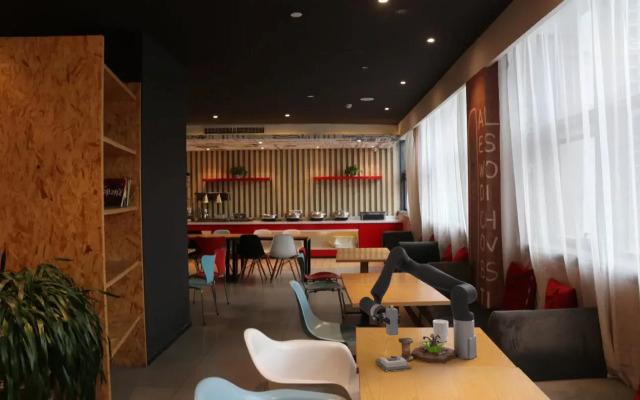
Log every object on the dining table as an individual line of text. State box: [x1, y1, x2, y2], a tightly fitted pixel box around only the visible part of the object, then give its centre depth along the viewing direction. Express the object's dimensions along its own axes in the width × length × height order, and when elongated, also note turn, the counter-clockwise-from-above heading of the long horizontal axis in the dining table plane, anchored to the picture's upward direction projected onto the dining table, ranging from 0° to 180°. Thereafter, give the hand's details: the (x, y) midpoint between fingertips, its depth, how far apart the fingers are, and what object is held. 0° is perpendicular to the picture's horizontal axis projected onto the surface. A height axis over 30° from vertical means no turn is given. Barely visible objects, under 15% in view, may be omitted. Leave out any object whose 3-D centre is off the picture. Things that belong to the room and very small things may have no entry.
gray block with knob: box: [385, 304, 399, 336], centre depth 211 cm, size 4×4×13 cm
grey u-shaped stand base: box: [375, 355, 412, 372], centre depth 210 cm, size 14×11×3 cm
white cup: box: [432, 319, 449, 343], centre depth 248 cm, size 8×8×10 cm
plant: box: [410, 333, 457, 364], centre depth 223 cm, size 20×20×11 cm
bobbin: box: [390, 337, 414, 362], centre depth 220 cm, size 10×6×9 cm, turn 43°
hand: (394, 321), depth 208 cm, fingers closed on gray block with knob, 4 cm apart
